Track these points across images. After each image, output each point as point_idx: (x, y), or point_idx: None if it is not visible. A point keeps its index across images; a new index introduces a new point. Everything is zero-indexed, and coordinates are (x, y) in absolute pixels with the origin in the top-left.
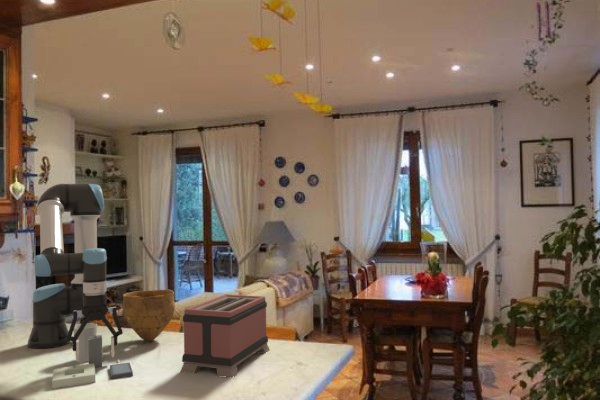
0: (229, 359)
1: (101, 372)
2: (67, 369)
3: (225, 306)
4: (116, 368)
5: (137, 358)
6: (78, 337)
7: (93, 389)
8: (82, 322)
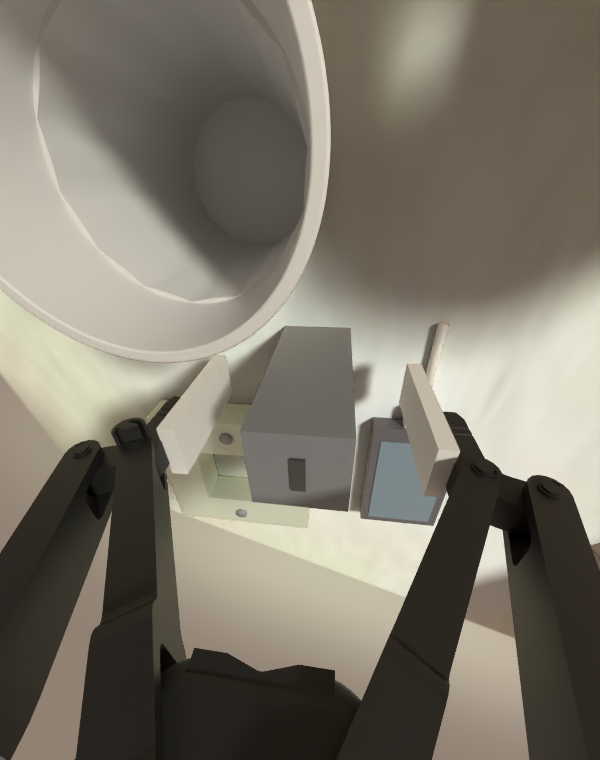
0: None
1: None
2: (203, 450)
3: None
4: (391, 476)
5: (560, 326)
6: (134, 282)
7: (303, 539)
8: (108, 612)
